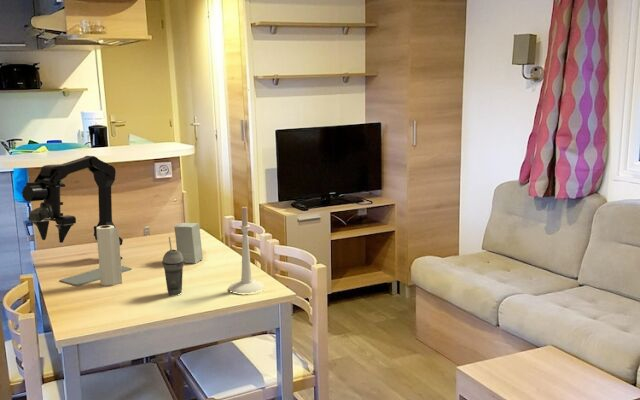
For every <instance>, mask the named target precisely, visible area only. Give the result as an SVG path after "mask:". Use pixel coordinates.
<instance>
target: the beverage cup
mask: <svg viewBox="0 0 640 400" xmlns="http://www.w3.org/2000/svg"><path fill="white" fill-rule="evenodd" d="M168 242H169V248H170V249H169V250H168V251H166V252H165V253H164V255H163V257H162V267H163V269H164V274H165V275H164V276H165V281H166V289H167V295H168V294H169V295H168V296H170V295H177V296H179V295H178V294H180V293H183V292H182V290H183V272H184V270H183V268H184V264H185V263H184V260H183V256H182V254H181V253H180V252H179V251H177V249H173V248H172V247H173V246H172V239H171V237H170V236H169V237H168ZM180 295H181V294H180Z"/></svg>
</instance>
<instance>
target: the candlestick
mask: <svg viewBox="0 0 640 400" xmlns="http://www.w3.org/2000/svg"><path fill="white" fill-rule="evenodd" d="M248 217H249V216H248V206H245V205H244V206H242V207H241V225H240V226H239V227H240V229H241V230H240V231H241V232H242V238H241V239H242V242H241V243H242V246H241V248H242V249H241V280H238V281H234V282H233V283H231V284H230V285H229V286H228V291H229V290H230V291H232V292H237V293H251V292H256V291H258V290H261V289H262V288H263V287H264V285H265V284H264V283H263V282H261V281H258V280H254V279H252V278H253V277H252V267H251V266H252V265H251V258H250V257H251V256H250V255H251V254H250V246H249V245H250V244H249V235H248V232H249V231H250V229H249V228H250V227H251V225H250V224H248V223H249V222H248V221H249V218H248Z"/></svg>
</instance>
